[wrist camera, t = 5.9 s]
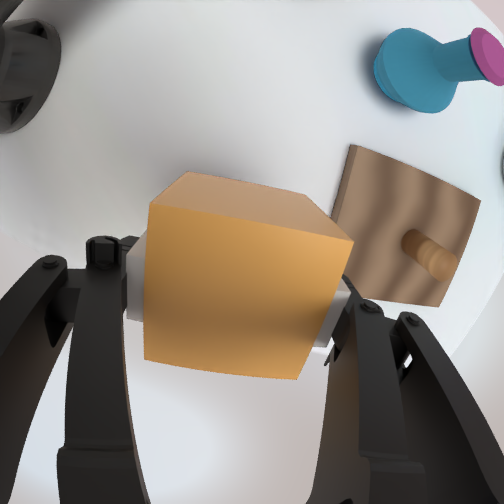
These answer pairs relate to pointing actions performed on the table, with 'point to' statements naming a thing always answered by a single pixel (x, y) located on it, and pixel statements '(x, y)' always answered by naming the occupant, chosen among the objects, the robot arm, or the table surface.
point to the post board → (401, 228)
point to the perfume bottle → (435, 67)
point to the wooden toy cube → (238, 276)
